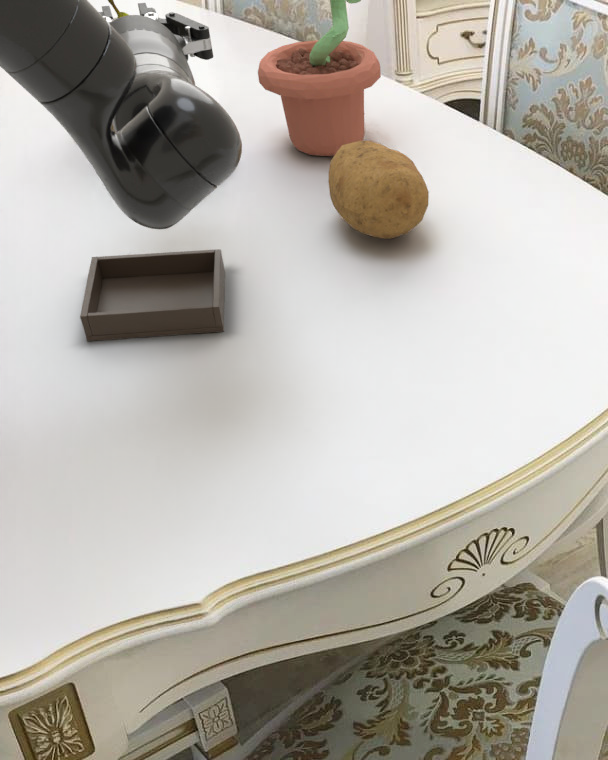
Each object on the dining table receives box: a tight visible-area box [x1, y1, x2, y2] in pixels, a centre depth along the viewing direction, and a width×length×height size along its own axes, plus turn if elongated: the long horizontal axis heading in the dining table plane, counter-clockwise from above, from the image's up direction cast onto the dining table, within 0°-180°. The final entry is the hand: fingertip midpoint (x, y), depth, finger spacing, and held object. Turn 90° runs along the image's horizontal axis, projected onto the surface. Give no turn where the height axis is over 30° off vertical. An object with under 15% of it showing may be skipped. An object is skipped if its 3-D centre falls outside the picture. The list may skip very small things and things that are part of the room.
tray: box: [79, 248, 226, 342], centre depth 104 cm, size 12×11×2 cm
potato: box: [327, 140, 430, 240], centre depth 114 cm, size 10×14×8 cm
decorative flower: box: [257, 0, 382, 157], centre depth 121 cm, size 15×14×30 cm
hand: (125, 16), depth 103 cm, fingers closed on fruit, 2 cm apart
